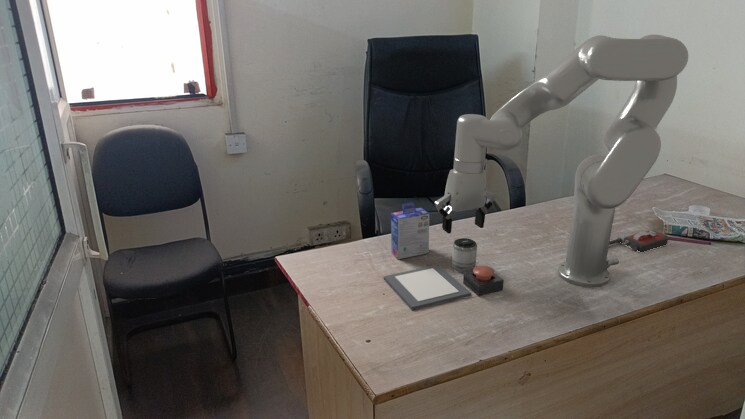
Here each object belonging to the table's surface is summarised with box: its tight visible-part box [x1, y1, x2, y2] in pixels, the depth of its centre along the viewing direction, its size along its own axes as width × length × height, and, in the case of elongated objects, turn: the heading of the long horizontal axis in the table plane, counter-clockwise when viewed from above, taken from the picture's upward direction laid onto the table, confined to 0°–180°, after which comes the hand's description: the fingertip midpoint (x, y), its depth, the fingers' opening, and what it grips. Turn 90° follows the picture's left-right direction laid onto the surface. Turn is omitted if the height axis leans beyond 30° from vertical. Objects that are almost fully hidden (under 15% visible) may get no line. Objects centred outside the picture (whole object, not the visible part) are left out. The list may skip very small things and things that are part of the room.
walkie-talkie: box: [609, 229, 669, 253], centre depth 154 cm, size 9×4×20 cm
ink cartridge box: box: [390, 202, 430, 260], centre depth 149 cm, size 10×6×14 cm, turn 113°
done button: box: [473, 265, 496, 282], centre depth 132 cm, size 5×5×3 cm
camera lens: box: [451, 237, 478, 274], centre depth 141 cm, size 6×6×8 cm
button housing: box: [462, 271, 505, 297], centre depth 133 cm, size 7×7×3 cm
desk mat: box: [383, 264, 472, 311], centre depth 133 cm, size 16×16×1 cm
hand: (463, 228), depth 139 cm, fingers open, 9 cm apart
